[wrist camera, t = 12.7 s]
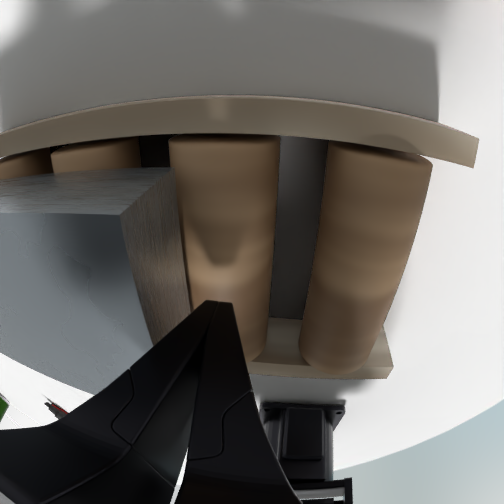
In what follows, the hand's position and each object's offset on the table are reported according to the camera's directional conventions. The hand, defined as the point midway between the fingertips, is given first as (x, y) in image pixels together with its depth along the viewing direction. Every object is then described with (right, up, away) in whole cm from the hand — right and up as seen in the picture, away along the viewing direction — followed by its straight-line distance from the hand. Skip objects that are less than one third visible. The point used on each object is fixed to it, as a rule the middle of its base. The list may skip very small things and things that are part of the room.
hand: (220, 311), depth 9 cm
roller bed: (-2, +3, +4) cm, 6 cm away
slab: (-7, +1, +2) cm, 7 cm away
